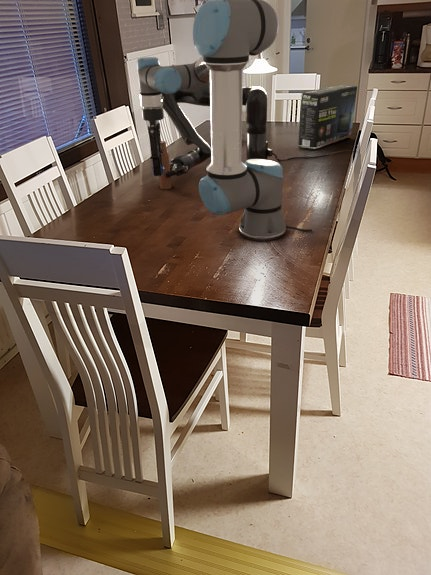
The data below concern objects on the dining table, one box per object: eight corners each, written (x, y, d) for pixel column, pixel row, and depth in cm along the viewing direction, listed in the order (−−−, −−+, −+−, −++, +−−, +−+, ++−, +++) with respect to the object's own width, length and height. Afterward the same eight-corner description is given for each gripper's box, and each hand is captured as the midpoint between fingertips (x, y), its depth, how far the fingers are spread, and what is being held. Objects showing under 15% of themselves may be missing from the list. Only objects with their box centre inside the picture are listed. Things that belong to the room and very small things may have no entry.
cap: (162, 170, 173) (162, 164, 172) (165, 174, 170) (164, 168, 168) (151, 172, 172) (151, 166, 171) (153, 175, 169) (153, 169, 167)
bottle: (159, 189, 190) (155, 143, 180) (161, 185, 194) (156, 140, 184) (171, 189, 190) (167, 143, 180) (172, 185, 194) (168, 140, 184)
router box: (314, 151, 231) (318, 94, 217) (296, 148, 237) (299, 92, 224) (352, 138, 251) (358, 85, 238) (335, 135, 258) (340, 83, 245)
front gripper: (160, 111, 151) (166, 180, 163) (165, 102, 166) (170, 166, 178) (137, 112, 151) (145, 181, 164) (144, 103, 166) (151, 166, 178)
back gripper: (167, 153, 200) (145, 163, 187) (196, 156, 194) (175, 167, 182) (169, 170, 204) (147, 181, 191) (197, 173, 198) (176, 185, 185)
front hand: (158, 173), depth 171 cm, fingers closed on cap, 4 cm apart
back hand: (161, 174), depth 186 cm, fingers closed on bottle, 4 cm apart
